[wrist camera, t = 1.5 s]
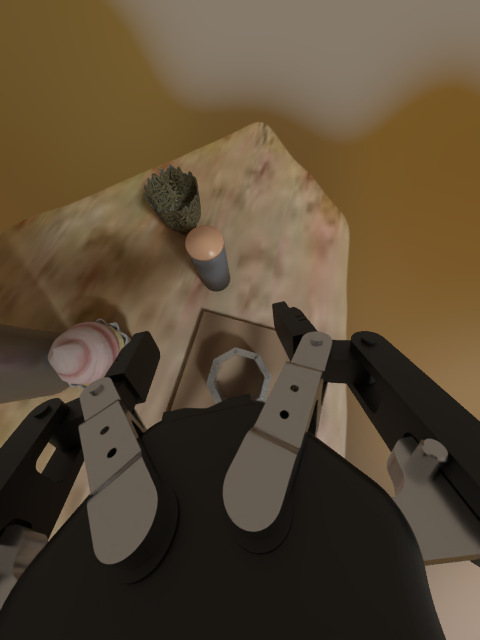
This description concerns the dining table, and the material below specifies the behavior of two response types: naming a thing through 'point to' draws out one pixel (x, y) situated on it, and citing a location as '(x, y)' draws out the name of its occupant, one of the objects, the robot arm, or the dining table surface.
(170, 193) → the cup
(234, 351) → the grey octagonal sleeve
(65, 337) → the cupcake
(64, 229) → the dining table surface
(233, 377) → the board
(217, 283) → the grey cylinder tan top
